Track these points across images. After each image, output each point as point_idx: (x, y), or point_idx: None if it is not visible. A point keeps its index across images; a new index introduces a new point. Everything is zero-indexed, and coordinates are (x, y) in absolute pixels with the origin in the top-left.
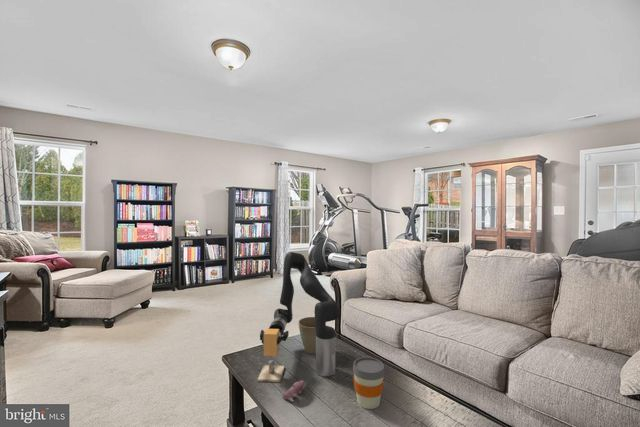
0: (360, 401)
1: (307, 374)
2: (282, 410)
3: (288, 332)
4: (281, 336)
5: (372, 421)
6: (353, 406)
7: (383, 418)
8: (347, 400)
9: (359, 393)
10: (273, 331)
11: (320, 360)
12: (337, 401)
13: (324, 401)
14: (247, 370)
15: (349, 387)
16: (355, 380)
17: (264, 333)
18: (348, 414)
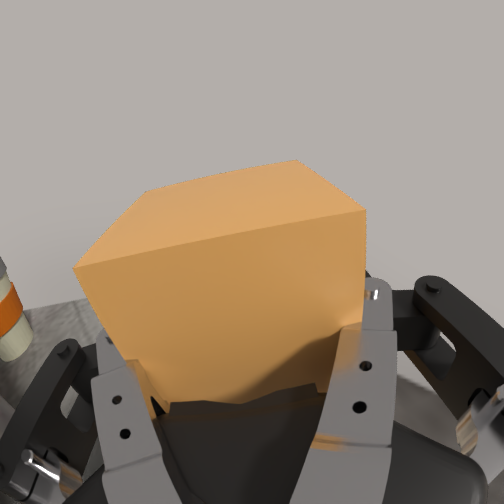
0: (28, 323)
1: (99, 465)
2: None
3: (3, 470)
4: (102, 338)
5: (41, 307)
6: (43, 331)
7: (25, 313)
8: (43, 345)
9: (21, 304)
10: (182, 201)
11: (11, 407)
12: (61, 340)
13: (85, 338)
14: (434, 438)
15: (17, 385)
16: (8, 292)
17: (293, 163)
18: (62, 313)
